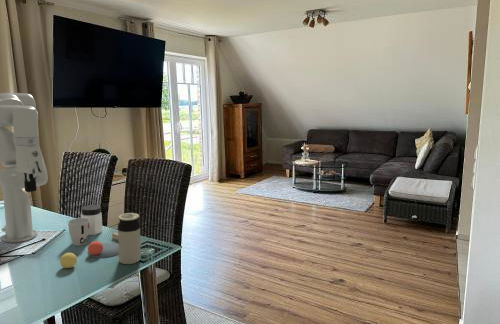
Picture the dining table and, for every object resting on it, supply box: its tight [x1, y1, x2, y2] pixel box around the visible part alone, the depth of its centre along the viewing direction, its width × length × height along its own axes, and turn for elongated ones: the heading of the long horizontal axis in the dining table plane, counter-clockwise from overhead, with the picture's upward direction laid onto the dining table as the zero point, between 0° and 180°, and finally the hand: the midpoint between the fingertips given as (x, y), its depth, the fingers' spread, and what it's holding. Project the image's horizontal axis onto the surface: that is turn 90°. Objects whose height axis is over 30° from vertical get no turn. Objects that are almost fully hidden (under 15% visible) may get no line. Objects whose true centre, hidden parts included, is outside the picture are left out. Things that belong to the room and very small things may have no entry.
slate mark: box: [87, 242, 119, 259], centre depth 142 cm, size 14×14×1 cm
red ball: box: [87, 240, 103, 255], centre depth 137 cm, size 6×6×6 cm
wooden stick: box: [111, 231, 142, 247], centre depth 150 cm, size 2×16×2 cm, turn 59°
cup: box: [67, 217, 89, 247], centre depth 146 cm, size 8×8×10 cm
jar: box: [80, 204, 103, 236], centre depth 159 cm, size 9×8×12 cm
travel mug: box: [117, 212, 142, 265], centre depth 132 cm, size 8×8×18 cm
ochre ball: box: [59, 252, 78, 269], centre depth 126 cm, size 6×6×6 cm
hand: (30, 191), depth 127 cm, fingers closed
